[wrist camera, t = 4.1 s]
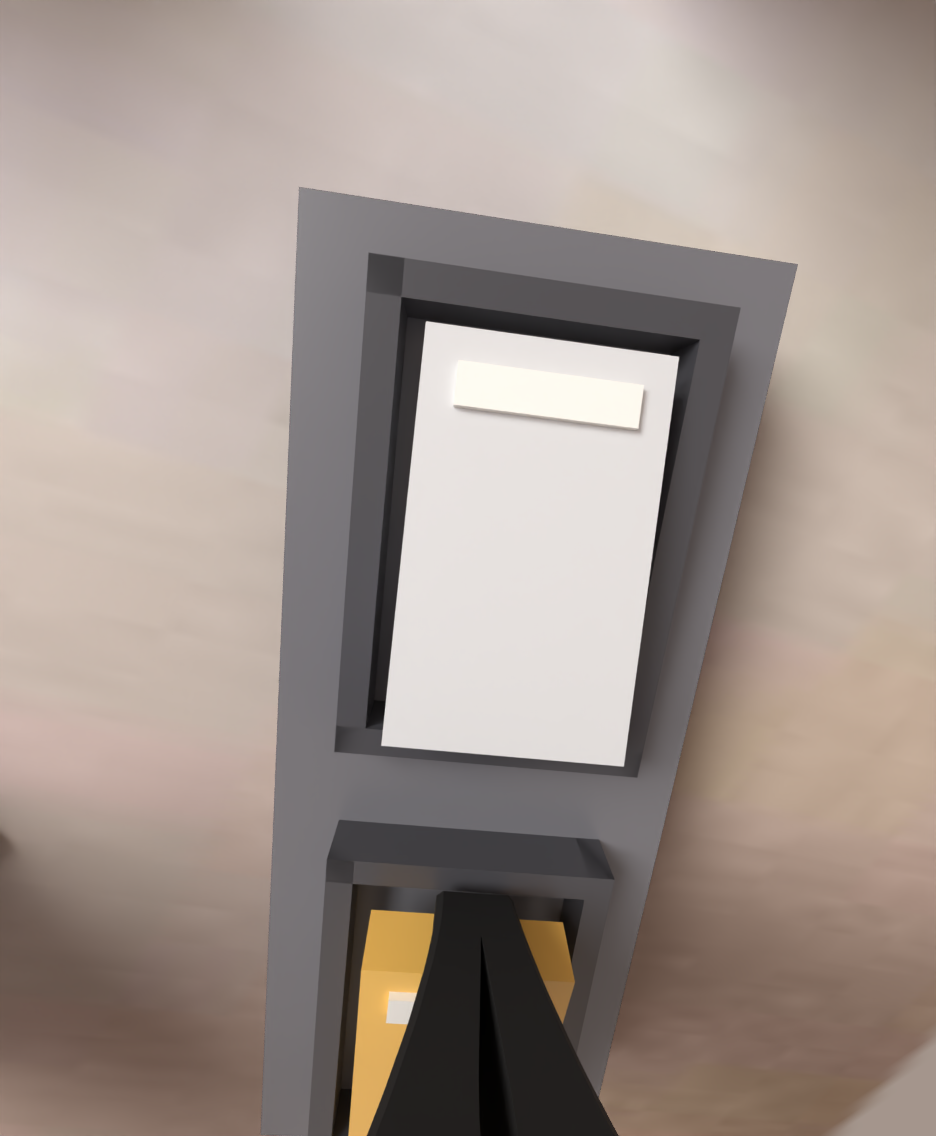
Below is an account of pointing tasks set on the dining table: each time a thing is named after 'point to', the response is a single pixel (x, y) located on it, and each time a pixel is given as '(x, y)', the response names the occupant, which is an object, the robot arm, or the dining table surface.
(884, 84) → the dining table surface
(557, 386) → the white rocker
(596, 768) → the rocker switch panel
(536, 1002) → the robot arm
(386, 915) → the amber rocker
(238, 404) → the dining table surface
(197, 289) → the dining table surface
